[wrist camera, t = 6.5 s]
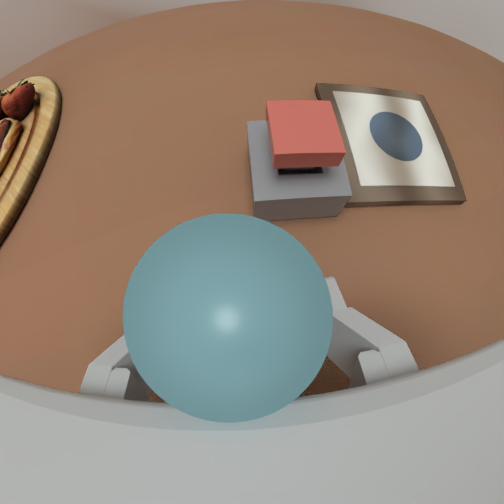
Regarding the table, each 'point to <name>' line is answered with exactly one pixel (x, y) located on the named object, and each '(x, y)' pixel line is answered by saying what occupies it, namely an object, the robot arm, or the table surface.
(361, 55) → the table surface
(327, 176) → the button box
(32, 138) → the wooden plate with food
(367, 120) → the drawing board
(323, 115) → the button
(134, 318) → the joystick
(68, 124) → the table surface
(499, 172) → the table surface
